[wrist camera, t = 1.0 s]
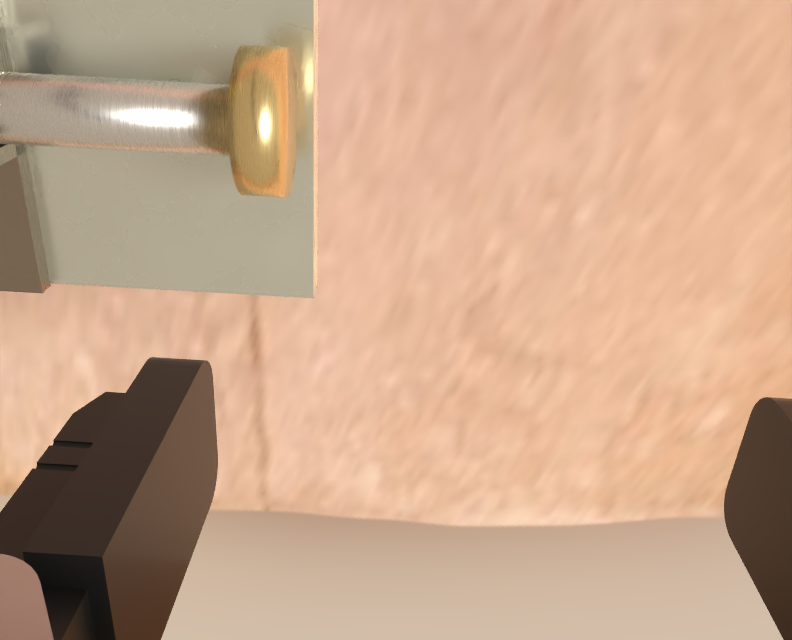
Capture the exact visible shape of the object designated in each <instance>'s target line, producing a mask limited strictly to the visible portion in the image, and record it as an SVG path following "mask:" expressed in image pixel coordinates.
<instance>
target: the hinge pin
mask: <svg viewBox="0 0 792 640" xmlns="http://www.w3.org/2000/svg"><path fill="white" fill-rule="evenodd" d="M298 120H299V108H298V84H297V73H296V65H295V60H294V56H293V52H292V50H291V49H290V48H289V47H278V46H261V45H241V46H240V47H239V48H238V50H237V52H236V55H235V58H234V62H233V66H232V71H231V78H230V85H228V84H211V83H193V82H175V81H158V80H140V79H122V78H105V77H87V76H69V75H52V74H34V73H16V72H0V144H14V145H32V146H49V147H67V148H85V149H102V150H120V151H138V152H155V153H173V154H191V155H208V156H226V157H230V163H231V170H232V175H233V179H234V183H235V186H236V188H237V190H238V192H239V193H240V194H241V195H246V196H263V197H281V198H287V197H288V196H289V194H290V192H291V188H292V185H293V180H294V174H295V167H296V158H297V146H298Z"/></svg>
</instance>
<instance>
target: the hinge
mask: <svg viewBox="0 0 792 640" xmlns="http://www.w3.org/2000/svg"><path fill="white" fill-rule="evenodd" d="M318 10H319V0H0V72H16V73H34V74H52V75H69V76H87V77H105V78H122V79H140V80H158V81H175V82H193V83H211V84H228V85H230V78H231V71H232V66H233V62H234V58H235V55H236V52H237V50H238V48H239V47H240V46H241V45H261V46H278V47H289V48H290V49H291V50H292V52H293V56H294V60H295V65H296V73H297V84H298V108H299V120H298V146H297V158H296V167H295V174H294V180H293V185H292V188H291V192H290V194H289V196H288V197H287V198H281V197H263V196H246V195H241V194H240V193H239V192H238V190H237V188H236V186H235V183H234V179H233V175H232V170H231V163H230V157H226V156H208V155H191V154H173V153H155V152H138V151H120V150H102V149H85V148H67V147H49V146H32V145H14V144H0V291H12V292H30V293H43V292H44V291H45V290H46V289H47V288H48V287H49V286H50V283H55V284H72V285H90V286H108V287H125V288H143V289H161V290H178V291H196V292H214V293H231V294H249V295H267V296H284V297H302V298H314V295H315V291H316V288H317V284H318Z"/></svg>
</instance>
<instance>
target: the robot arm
mask: <svg viewBox="0 0 792 640" xmlns="http://www.w3.org/2000/svg"><path fill="white" fill-rule="evenodd" d="M217 468H218V452H217V436H216V420H215V404H214V388H213V375H212V369H211V365H210V363H209V362H208V361H204V360H188V359H172V358H156V357H152V358H149V359H148V360H147V361H146V363H145V364H144V366H143V367H142V369H141V370H140V372H139V374H138V375H137V377H136V378H135V380H134V381H133V383H132V384H131V386H130V387H129V389H128V390H127V392H126V393H115V392H105V393H103V394H102V395H100V396H99V397H97V398H96V399H94V400H93V401H91V402H90V403H88V404H87V405H85V406H84V407H82V408H81V409H79V410H78V411H76V412H75V413H73V414H72V416H71V417H70V419H69V420H68V421H67V423H66V424H65V425H64V427H63V428H62V429H61V431H60V432H59V433H58V435H57V436H56V438H55V439H54V443H53V446H49V447H48V448H47V450H46V451H45V452H44V454H43V455H42V457H41V458H40V459H39V461H38V462H37V468H36V469H32V470H31V472H30V473H29V474H28V476H27V477H26V478H25V480H24V481H23V482H22V484H21V485H20V486H19V488H18V489H17V491H16V492H15V493H14V495H13V496H12V497H11V499H10V500H9V501H8V503H7V504H6V505H5V507H4V508H3V510H2V511H1V512H0V640H161V637H162V635H163V632H164V630H165V627H166V624H167V621H168V619H169V616H170V613H171V611H172V608H173V605H174V602H175V600H176V597H177V595H178V592H179V589H180V586H181V584H182V581H183V578H184V576H185V573H186V570H187V567H188V565H189V562H190V559H191V557H192V554H193V551H194V549H195V546H196V543H197V540H198V538H199V535H200V533H201V530H202V527H203V524H204V521H205V519H206V516H207V514H208V511H209V508H210V506H211V503H212V499H213V496H214V491H215V486H216V479H217ZM724 514H725V522H726V527H727V530H728V533H729V536H730V538H731V540H732V542H733V544H734V546H735V548H736V550H737V551H738V554H739V555H740V557H741V559H742V561H743V563H744V565H745V567H746V568H747V570H748V573H749V574H750V576H751V578H752V580H753V582H754V584H755V586H756V588H757V590H758V592H759V593H760V595H761V597H762V599H763V601H764V603H765V605H766V607H767V609H768V610H769V612H770V614H771V616H772V618H773V620H774V622H775V624H776V626H777V628H778V630H779V632H780V633H781V635H782V637H783V639H784V640H792V399H785V398H769V397H766V398H762V399H760V400H759V401H758V402H757V403H756V404H755V406H754V408H753V410H752V412H751V415H750V418H749V421H748V424H747V427H746V430H745V433H744V436H743V439H742V442H741V445H740V448H739V451H738V454H737V458H736V461H735V464H734V467H733V470H732V473H731V476H730V479H729V482H728V485H727V489H726V493H725V500H724Z"/></svg>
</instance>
